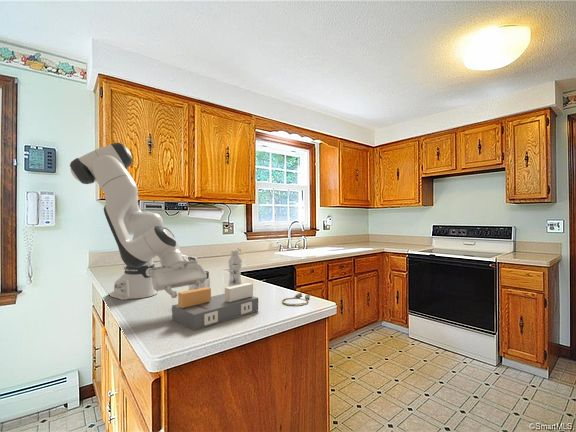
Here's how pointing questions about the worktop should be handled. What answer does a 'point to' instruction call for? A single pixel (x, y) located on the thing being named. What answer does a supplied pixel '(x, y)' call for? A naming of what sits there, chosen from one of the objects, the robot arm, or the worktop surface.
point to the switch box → (213, 311)
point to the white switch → (238, 292)
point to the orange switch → (194, 297)
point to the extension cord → (297, 298)
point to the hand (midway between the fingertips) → (187, 294)
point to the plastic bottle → (235, 269)
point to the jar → (202, 285)
